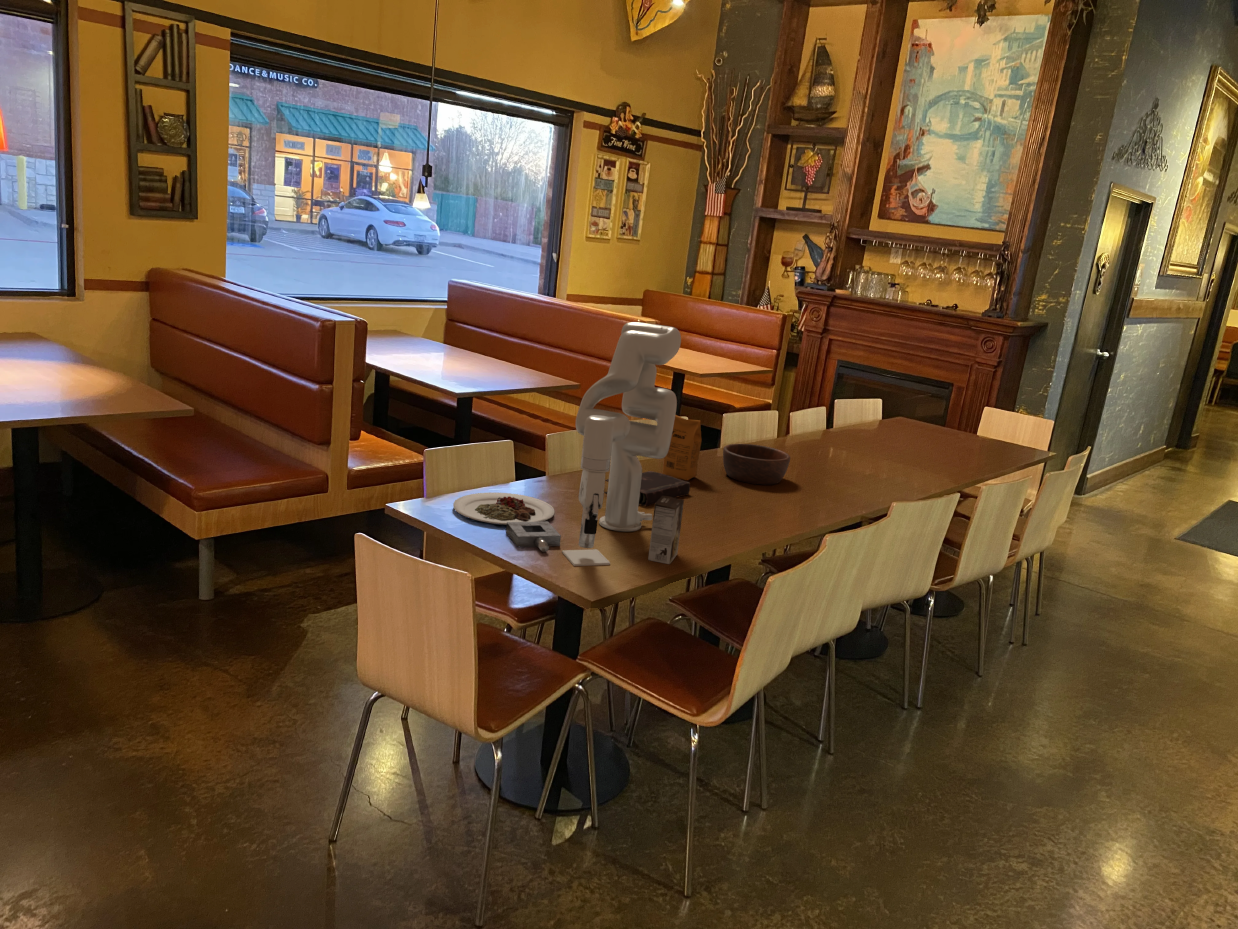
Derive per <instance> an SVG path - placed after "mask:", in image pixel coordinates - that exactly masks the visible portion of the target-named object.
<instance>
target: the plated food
mask: <svg viewBox="0 0 1238 929" xmlns="http://www.w3.org/2000/svg"><path fill="white" fill-rule="evenodd" d="M452 504H453V509H454V511H456V512H457V513H458V514H460V515H461V516H464V517H465V518H469V519H471V520H474V521H479V522H484V523H487V524H494V525H500V526H501V525H502V526H503V525H504V526H507V522H544V521H548V520H550V519H551V518H553V517H554V515H555V509H554V507H553V506H552V505H551V504H549V503H548V502H546V501H544V500H542V499H538V498H536V497H532V496H529V495H523V494H518V493H508V492H478V493H470V494H466V495H462V496H460V497H458V498H457V499H455V500H454V502H453V503H452Z"/></svg>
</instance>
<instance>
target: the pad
mask: <svg viewBox="0 0 1238 929" xmlns="http://www.w3.org/2000/svg"><path fill="white" fill-rule="evenodd" d="M561 553H562V554H563V555H564V557H565V558H566V559H567V560H568V561H569V563H570V564H572V566H573V567H585V566H610V565H611V562H610V560H608V559H607V557H605V555H603V554H602V553H601V551H599V549H596V548H594V549H592V548H591V549H568V550H567V549H564V550H561Z"/></svg>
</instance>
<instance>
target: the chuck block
mask: <svg viewBox="0 0 1238 929" xmlns="http://www.w3.org/2000/svg"><path fill="white" fill-rule="evenodd" d="M505 528H506V529H505V533H506V534H507V536H508V538H510V540H512V542H513V543H514V545H515V546H516V547H517V548H532V547H534V548H535V547H537V548H539V550H540V551H541V552H543V553H546V552H548V551H549V549H550V547H560V546H561V537H562V535H561V534H560V533H559V532H558V530H556V528H555V527H554V526H553V525H552V524H551V523H550V522H549V521H548V520H545V521H542V522H507V525H505Z"/></svg>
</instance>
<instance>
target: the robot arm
mask: <svg viewBox="0 0 1238 929" xmlns="http://www.w3.org/2000/svg"><path fill="white" fill-rule="evenodd" d="M621 328H622V329H621V333H620V334H621V335H620V336H619V339H618V341H617V343H616V348H615V351H614V353H613V356H612V359H611V362H610V365H609V368H608V373H607V374H606V375H604V376H603V377H602V378H600V379H599V380H597V381H596V382H595V383H593V384H592V385H591V386H590V387H589V388H588V389H587V390H586V392H585V393H584V395H583V396H582V399H581V402H580V405H579V407H578V410H577V414H576V417H575V429H576V432H578V434H579V435H582V436H583V440H582V450H581V461H580V469H581V470H582V471H581V478H580V485H579V491H578V492H579V493H578V502H579V503H580V505H581V507H582V509H583V508H585V509H586V508H587V519H585V526H584V533H585V534H595V535H596V534H597V528H598V523H599V525H600V526H601V527H602V528H605V529H607V530H611V531H616V532H623V533H624V532H626V533H627V532H636V531H639V530H640V529H641V528H642V522H643V521H653V514H652V513H645V511H639V505H640V504H639V496H640V488H641V479H642V473H643V468H642V467H643V466H642V464H641V461H640V459H639V458H638V457H645V458H649V459H656V460H660V459H661V460H662V459H664V457H665V456H666V455H667V453H668V451H669V447H670V442H671V437H672V431H673V425H674V420H675V415H677V414H676V412H677V405H678V403H677V402H678V400H677V396H676V393H675V392H674V391H672V390H671V389H667V388H663V387H655V384H656V378H657V372H658V371H657V367H656V365H657V366H663V365H666V364H667V363H668V362H670V361H671V360H672V359H673V358H674V357H675V356H676V355H677V354H678V353H679V350H680V348H681V344H682V335H681V332H680V331H679V330H678V328H677V327H674V326H669V325H661V324H655V323H646V322H638V321H631V322H627V323H624V325H623V326H622V327H621ZM620 394H622V400H621V411H622V412H623V413H624V414H623V413H620V412H615V411H609V410H604V409H598V408H594V407H595V406H596V405H597V404H598V403H599V402H600V401H602V400H603V399H606V398H609V397H612V396H615V395H620ZM628 416H629V417H633V418H640V419H645V420H651V421H656V422H655V423H656V424H649V423H644V422H640V421H639V422H638V421H633V420H630V419H629V417H628ZM637 456H638V457H637ZM606 473H609V476H608V479H609V482H608V485H607V486H608V487H607V492H608V493H607V494H606V504H605V511H604V512H605V513H604V514H605V515H602V516H601V517H600V518H599V510H601V509H602V508H603V503H604V496H605V493H604V492H605V483H606V481H605V480H606ZM590 505H592V506H593V508H592V507H590ZM590 510H592V512H590ZM582 514H583V512H582ZM582 514H581V515H582ZM580 522H582V520H581V521H580Z"/></svg>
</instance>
